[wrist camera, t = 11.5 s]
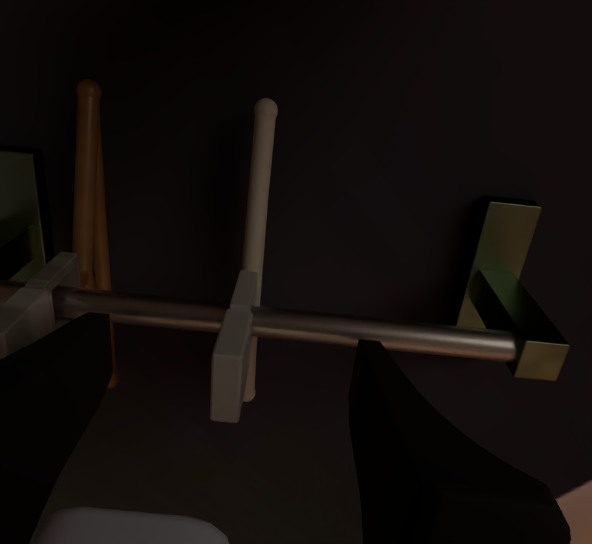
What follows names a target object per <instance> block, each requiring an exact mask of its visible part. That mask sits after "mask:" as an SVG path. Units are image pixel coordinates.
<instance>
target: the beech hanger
mask: <svg viewBox="0 0 592 544" xmlns="http://www.w3.org/2000/svg"><path fill="white" fill-rule="evenodd" d="M76 93H77V96H78V98H77V126H76V154H75V182H74V210H73V238H72V253H67V252H60V253H59V254H58V255H56V256H55V257H54V258H53V259H52V260H51V261H50V262H49V263H48V264H46V265H45V266H44V267H43V268H42V269H41V270H40V271H39V272H38V273H36V274H35V275H34V276H33V277H32V278H31V279H30V280H29V281H28V282H26V283H25V288H20V289H19V290H18V291H17V292H15V293H14V294H13V295H12V296H11V297H10V298H9V299H8V300H7V301H5V302H4V303H3V304H2V305H1V306H0V359H2V358H4V357H6V356H8V355H10V354H12V353H14V352H16V351H18V350H20V349H22V348H24V347H26V346H28V345H30V344H31V343H33V342H35V341H37V340H39V339H40V338H42V337H44V336H46V335H47V334H49V333H51V332H53V331H54V330H56V329H58V328H60V327H61V326H63V325H65V324H67V323H68V322H70V321H72V320H74V318H64V317H54V309H53V301H52V293H51V291H52V290H53V289H54V288H55V287H56V286H57V285H58V284H59V286H68V287H78V288H88V289H98V290H108V291H111V278H110V263H109V247H108V232H107V216H106V201H105V185H104V170H103V154H102V139H101V124H100V108H99V107H100V98H101V95H102V91H101V88H100V86H99V85H98V84H97V83H96V82H95V81H93V80H90V79H85V80H82V81H80V82H79V83H78V85H77V87H76ZM93 268H94V277H93ZM110 331H111V346H112V361H113V374H112V377H111V379H110V382H109V385H108V387H107V388H112V387H114V386H116V385H117V384H118V382H119V374H118V373H117V371H116V356H115V340H114V325H113V322H110Z"/></svg>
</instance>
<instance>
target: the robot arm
mask: <svg viewBox="0 0 592 544" xmlns="http://www.w3.org/2000/svg"><path fill="white" fill-rule="evenodd" d="M112 374H113V361H112V346H111V331H110V317H109V314H105V313H95V312H87V313H85V314H83V315H81V316H79V317H77V318H75V319H74V320H72V321H70V322H68V323H67V324H65V325H63V326H61V327H60V328H58V329H56V330H54V331H53V332H51V333H49V334H47V335H46V336H44V337H42V338H40V339H39V340H37V341H35V342H33V343H31V344H30V345H28V346H26V347H24V348H22V349H20V350H18V351H16V352H14V353H12V354H10V355H8V356H6V357H4V358H2V359H0V544H29V542H30V540H31V538H32V535H33V533H34V531H35V528H36V526H37V523H38V521H39V519H40V516H41V514H42V512H43V509H44V507H45V505H46V503H47V500H48V498H49V496H50V494H51V491H52V489H53V487H54V485H55V483H56V480H57V478H58V476H59V475H60V473H61V471H62V469H63V467H64V465H65V463H66V462H67V460H68V458H69V457H70V455H71V453H72V451H73V450H74V448H75V446H76V445H77V443H78V441H79V440H80V438H81V436H82V434H83V433H84V431H85V429H86V428H87V426H88V424H89V423H90V421H91V419H92V417H93V416H94V414H95V412H96V410H97V409H98V407H99V405H100V403H101V401H102V399H103V397H104V394H105V392H106V390H107V387H108V385H109V382H110V379H111V377H112ZM349 427H350V434H351V440H352V447H353V453H354V460H355V466H356V472H357V479H358V485H359V491H360V499H361V509H362V528H363V544H570V541H571V535H570V527H569V525H568V523H567V521H566V519H565V517H564V516H563V513H562V511H561V510H560V507H559V505H558V503H557V501H556V500H555V498H554V496H553V495H552V493H551V491H550V490H549V488H548V486H547V485H546V484H545V483H543V482H541V481H539V480H537V479H535V478H533V477H531V476H529V475H527V474H526V473H524V472H522V471H520V470H518V469H516V468H514V467H512V466H511V465H509V464H507V463H506V462H504V461H503V460H501V459H499V458H498V457H496V456H494V455H493V454H491V453H490V452H488V451H487V450H485V449H484V448H482V447H481V446H479V445H478V444H477V443H475V442H474V441H473V440H471V439H470V438H469V437H467V436H466V435H465V434H463V433H462V432H461V431H460V430H458V429H457V428H456V427H455V426H453V425H452V424H451V423H450V422H449V421H448V420H447V419H446V418H444V417H443V416H442V415H441V414H440V413H439V412H438V411H437V410H436V409H435V408H434V407H433V406H432V405H431V404H430V403H429V402H428V401H427V400H426V399H425V398H424V397H423V396H422V395H421V394H420V393H419V391H418V390H417V389H416V388H415V387H414V386H413V384H412V383H411V382H410V381H409V379H408V378H407V377H406V376H405V375H404V373H403V372H402V371H401V369H400V368H399V367H398V365H397V364H396V363H395V361H394V360H393V358H392V357H391V356H390V354H389V353H388V352H387V350H386V349H385V347H384V346H383V345H382V343H381V342H380V341H375V340H365V339H359V340H358V346H357V351H356V357H355V362H354V368H353V374H352V379H351V385H350V391H349ZM32 544H229V542H228V539H227V536H226V535H224V534H223V533H222V532H221V531H220V530H218V529H217V528H216V527H215V526H213V525H212V524H211V523H210V522H208V521H204V520H201V519H197V518H194V517H190V516H184V515H173V514H163V513H152V512H142V511H131V510H121V509H110V508H100V507H89V506H83V507H72V508H63V509H60V510H58V511H57V512H55V513H54V514H52V515H51V516H49V517H48V518H46V519H45V521H44V523H43V524H42V526H41V528H40V530H39V532H38V534H37V536H36V537H35V539H34V541H33V543H32Z"/></svg>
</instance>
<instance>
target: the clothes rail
mask: <svg viewBox="0 0 592 544" xmlns="http://www.w3.org/2000/svg"><path fill="white" fill-rule="evenodd" d="M541 208H542V207H541V206H540V205H539V204H537V203H536V202H535V201H532V200H523V199H513V198H503V197H494V196H483V200H482V204H481V208H480V211H479V215H478V219H477V223H476V226H475V230H474V234H473V238H472V242H471V245H470V249H469V253H468V257H467V261H466V264H465V268H464V272H463V276H462V280H461V283H460V287H459V291H458V295H457V298H456V302H455V306H454V310H453V314H452V317H451V321H450V325H443V324H433V323H423V322H414V321H404V320H394V319H384V318H374V317H364V316H354V315H344V314H335V313H325V312H315V311H305V310H295V309H285V308H275V307H265V306H256V305H252V306H251V312H252V328H251V336H253V337H263V338H273V339H283V340H293V341H303V342H313V343H323V344H333V345H343V346H353V347H357V346H358V340H359V339H365V340H375V341H380V342H381V343H382V345H383V346H384V347H385V349H386V350H392V351H402V352H412V353H422V354H432V355H442V356H452V357H462V358H472V359H482V360H492V361H502V362H506V364H507V366H508V368H509V369H510V371H511V373H512V375H513V376H514V377H519V378H529V379H539V380H549V381H556V380H557V378H558V375H559V373H560V370H561V367H562V365H563V362H564V360H565V357H566V355H567V352H568V349H569V347H570V345H569V343H568V342H567V341H566V340H565V338H564V337H563V336H562V335H561V333H560V332H559V331H558V329H557V328H556V327H555V326H554V324H553V323H552V322H551V321H550V319H549V318H548V317H547V316H546V314H545V313H544V312H543V311H542V309H541V308H540V307H539V305H538V304H537V303H536V302H535V300H534V299H533V298H532V297H531V295H530V294H529V293H528V292H527V290H526V289H525V288H524V287H523V285H522V284H521V283H520V282H519V278H520V275H521V271H522V268H523V265H524V262H525V259H526V256H527V252H528V249H529V246H530V243H531V240H532V237H533V234H534V230H535V227H536V224H537V221H538V218H539V215H540V212H541ZM53 258H54V251H53V242H52V233H51V225H50V216H49V207H48V198H47V190H46V181H45V172H44V164H43V155H42V150H40V149H33V148H23V147H14V146H4V145H0V306H1V305H2V304H3V303H4V302H5V301H7V300H8V299H9V298H10V297H11V296H12V295H13V294H14V293H15V292H17V291H18V290H19V289H20V288H25V283H26V282H28V281H29V280H30V279H31V278H32V277H33V276H34V275H35V274H36V273H38V272H39V271H40V270H41V269H42V268H43V267H44V266H45V265H46V264H48V263H49V262H50V261H51V260H52V259H53ZM51 293H52V301H53V309H54V317H64V318H74V319H75V318H77V317H79V316H81V315H83V314H85V313H87V312H95V313H105V314H109V317H110V322H114V323H124V324H134V325H144V326H154V327H164V328H174V329H184V330H194V331H203V332H213V333H219V330H220V327H221V323H222V320H223V317H224V314H225V311H226V309H229V306H230V303H226V302H216V301H206V300H196V299H186V298H177V297H167V296H157V295H147V294H137V293H127V292H117V291H108V290H98V289H88V288H78V287H68V286H58V285H57V286H56V287H55V288H54V289H53V290H52V291H51Z"/></svg>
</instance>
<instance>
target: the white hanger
mask: <svg viewBox="0 0 592 544" xmlns="http://www.w3.org/2000/svg"><path fill="white" fill-rule="evenodd" d="M254 113H255V122H254V134H253V145H252V157H251V168H250V179H249V191H248V202H247V214H246V225H245V236H244V248H243V259H242V270H241V271H240V272H239V276H238V279H237V282H236V286H235V289H234V292H233V296H232V299H231V302H230V306H229V309H226V311H225V314H224V317H223V320H222V323H221V327H220V330H219V333H218V336H217V340H216V343H215V346H214V349H213V352H212V358H211V389H210V420H212V421H219V422H230V423H237V422H238V421H239V418H240V412H241V407H242V402H243V401H245V402H248V401H250V400H252V399H253V398H254V396H255V388H254V387H255V368H256V348H257V337H253V336H251V328H252V312H251V306H252V305H256V306H260V296H261V283H262V270H263V257H264V244H265V231H266V218H267V205H268V194H269V183H270V173H271V162H272V151H273V141H274V130H275V119H276V116H277V113H278V108H277V105H276V103H275V102H274V101H273V100H271V99H269V98H263V99H260V100H259V101H258V102H257V103H256V105H255V107H254Z"/></svg>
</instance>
